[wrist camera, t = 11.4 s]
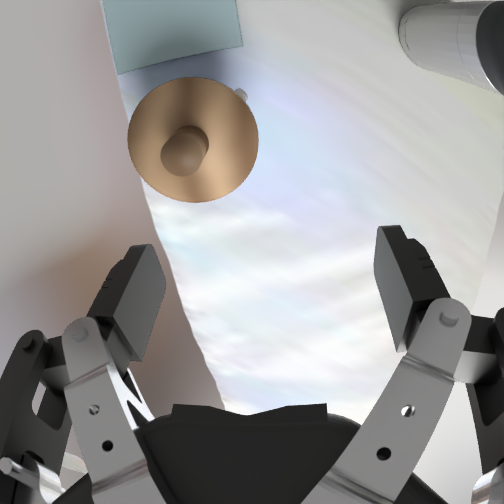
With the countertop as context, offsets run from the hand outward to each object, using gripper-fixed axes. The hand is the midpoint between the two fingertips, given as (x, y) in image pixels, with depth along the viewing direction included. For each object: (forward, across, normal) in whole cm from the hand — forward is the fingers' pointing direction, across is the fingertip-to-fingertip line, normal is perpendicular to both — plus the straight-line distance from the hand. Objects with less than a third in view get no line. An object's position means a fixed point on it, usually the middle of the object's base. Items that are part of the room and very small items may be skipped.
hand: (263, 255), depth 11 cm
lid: (+24, +8, +2) cm, 25 cm away
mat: (+32, +10, -15) cm, 36 cm away
